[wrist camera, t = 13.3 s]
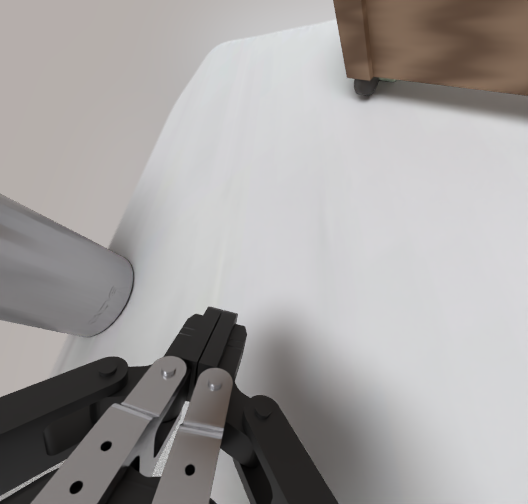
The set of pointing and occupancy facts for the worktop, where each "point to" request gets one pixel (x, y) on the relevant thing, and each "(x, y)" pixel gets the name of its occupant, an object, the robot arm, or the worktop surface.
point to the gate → (436, 43)
